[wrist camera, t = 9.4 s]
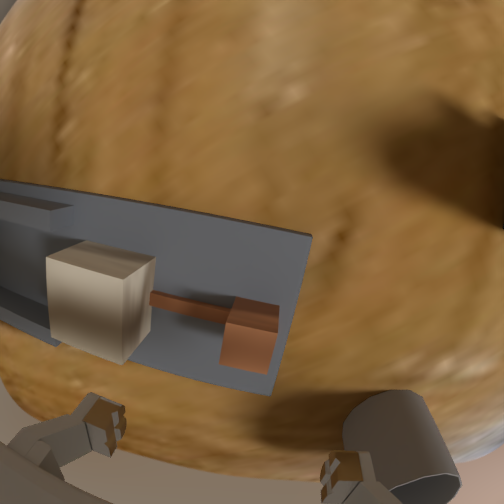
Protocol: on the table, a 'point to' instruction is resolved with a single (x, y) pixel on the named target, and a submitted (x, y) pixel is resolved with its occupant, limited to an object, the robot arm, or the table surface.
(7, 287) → the grey slider tray
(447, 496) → the cup
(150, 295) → the block
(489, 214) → the table surface
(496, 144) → the table surface
